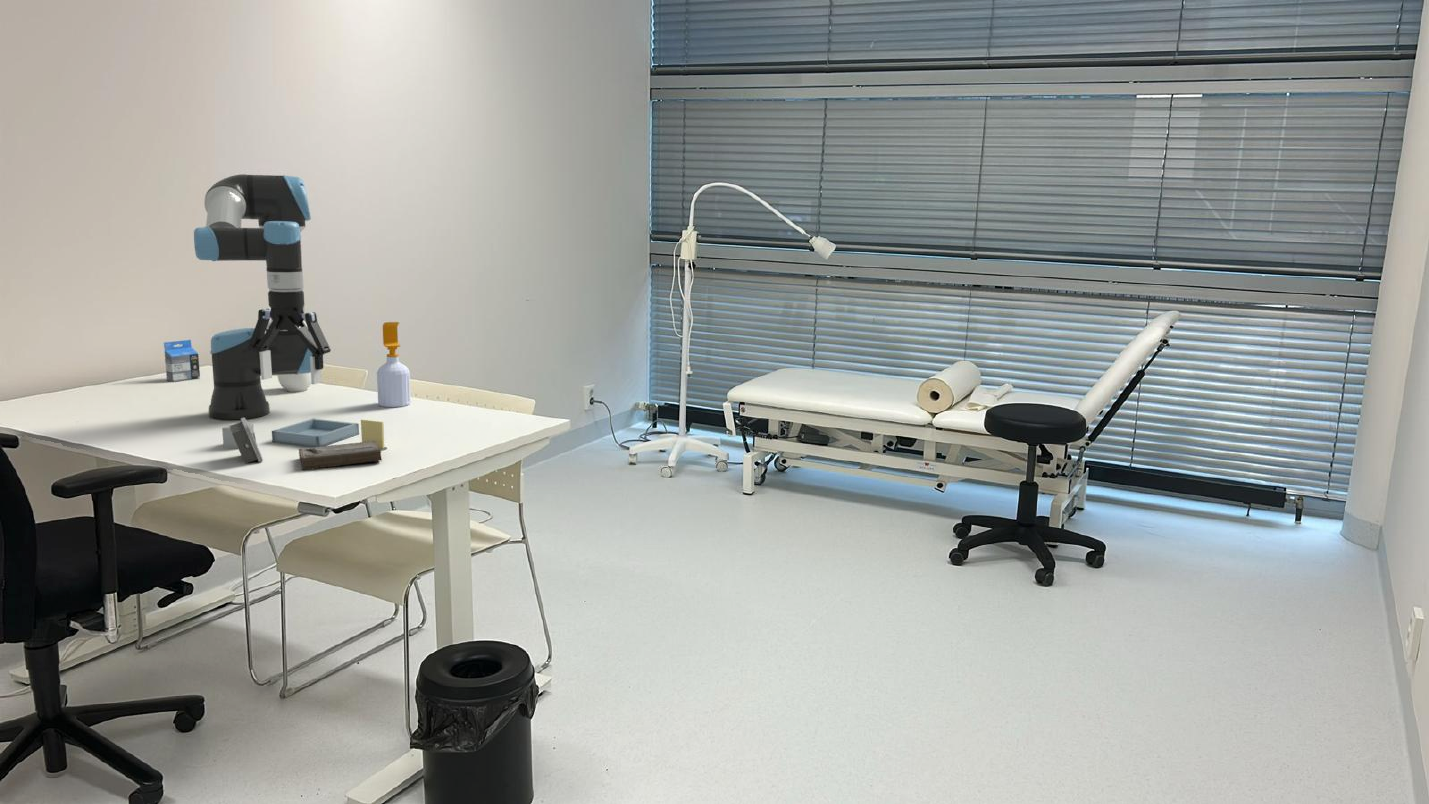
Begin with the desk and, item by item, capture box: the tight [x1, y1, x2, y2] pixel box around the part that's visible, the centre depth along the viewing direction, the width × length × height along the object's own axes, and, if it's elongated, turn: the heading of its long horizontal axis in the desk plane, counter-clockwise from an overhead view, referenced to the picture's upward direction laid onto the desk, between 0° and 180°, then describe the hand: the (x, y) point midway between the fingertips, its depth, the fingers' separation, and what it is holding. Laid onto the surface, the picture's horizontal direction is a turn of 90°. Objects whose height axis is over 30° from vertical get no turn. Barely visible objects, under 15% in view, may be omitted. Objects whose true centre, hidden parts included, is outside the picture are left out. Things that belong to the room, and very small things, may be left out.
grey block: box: [221, 422, 255, 449], centre depth 235 cm, size 5×5×5 cm
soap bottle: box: [376, 321, 412, 408], centre depth 282 cm, size 9×9×25 cm
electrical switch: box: [229, 418, 264, 464], centre depth 223 cm, size 9×5×9 cm, turn 30°
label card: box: [360, 419, 388, 452], centre depth 235 cm, size 6×2×7 cm, turn 73°
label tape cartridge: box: [163, 339, 201, 383], centre depth 309 cm, size 9×4×12 cm, turn 147°
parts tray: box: [271, 417, 360, 448], centre depth 244 cm, size 14×15×3 cm
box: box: [298, 441, 383, 471], centre depth 224 cm, size 11×17×3 cm, turn 115°
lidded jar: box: [276, 373, 312, 393], centre depth 299 cm, size 11×11×9 cm
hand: (291, 381), depth 225 cm, fingers open, 13 cm apart
